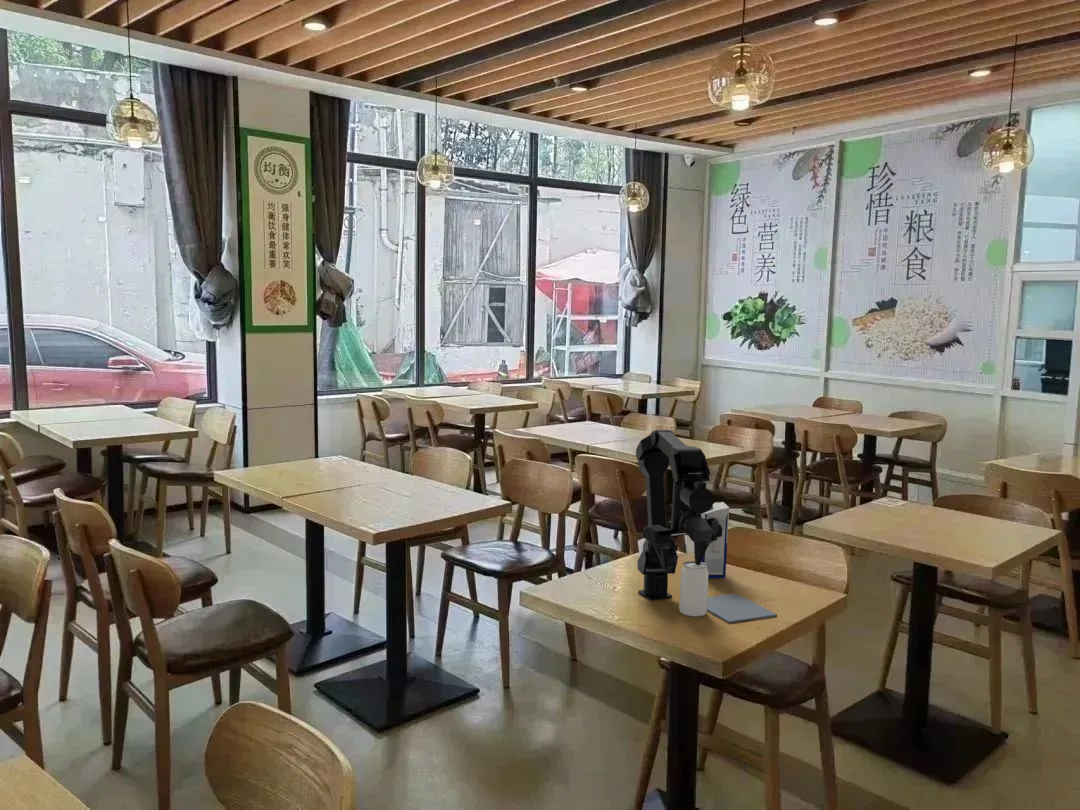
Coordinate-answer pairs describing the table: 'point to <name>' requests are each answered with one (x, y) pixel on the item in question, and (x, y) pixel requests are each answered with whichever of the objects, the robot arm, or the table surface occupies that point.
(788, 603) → the table surface
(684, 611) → the can
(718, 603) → the mat
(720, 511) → the milk carton
